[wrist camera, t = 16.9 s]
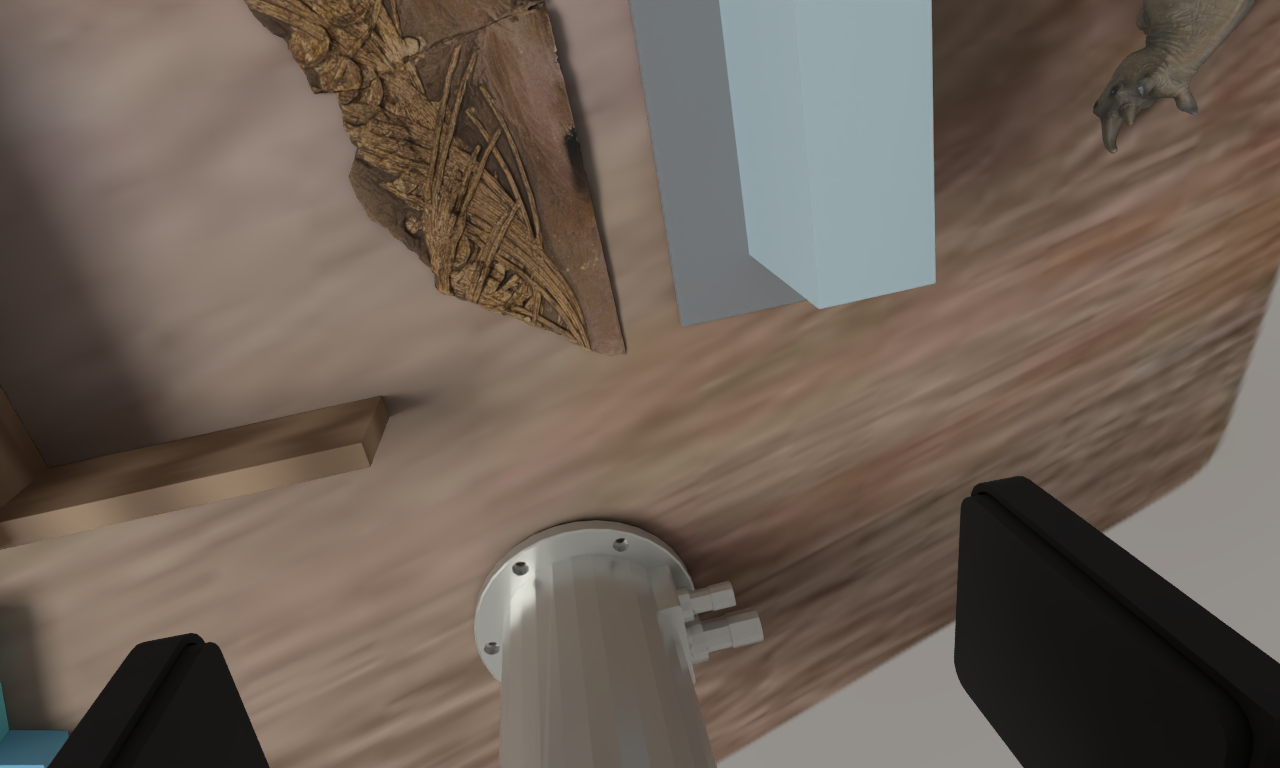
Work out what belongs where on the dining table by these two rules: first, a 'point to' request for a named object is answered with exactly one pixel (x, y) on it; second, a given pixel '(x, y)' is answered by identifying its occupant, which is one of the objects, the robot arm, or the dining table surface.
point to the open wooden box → (176, 470)
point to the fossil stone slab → (464, 149)
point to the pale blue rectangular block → (835, 142)
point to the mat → (699, 162)
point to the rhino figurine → (1166, 58)
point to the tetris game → (27, 744)
